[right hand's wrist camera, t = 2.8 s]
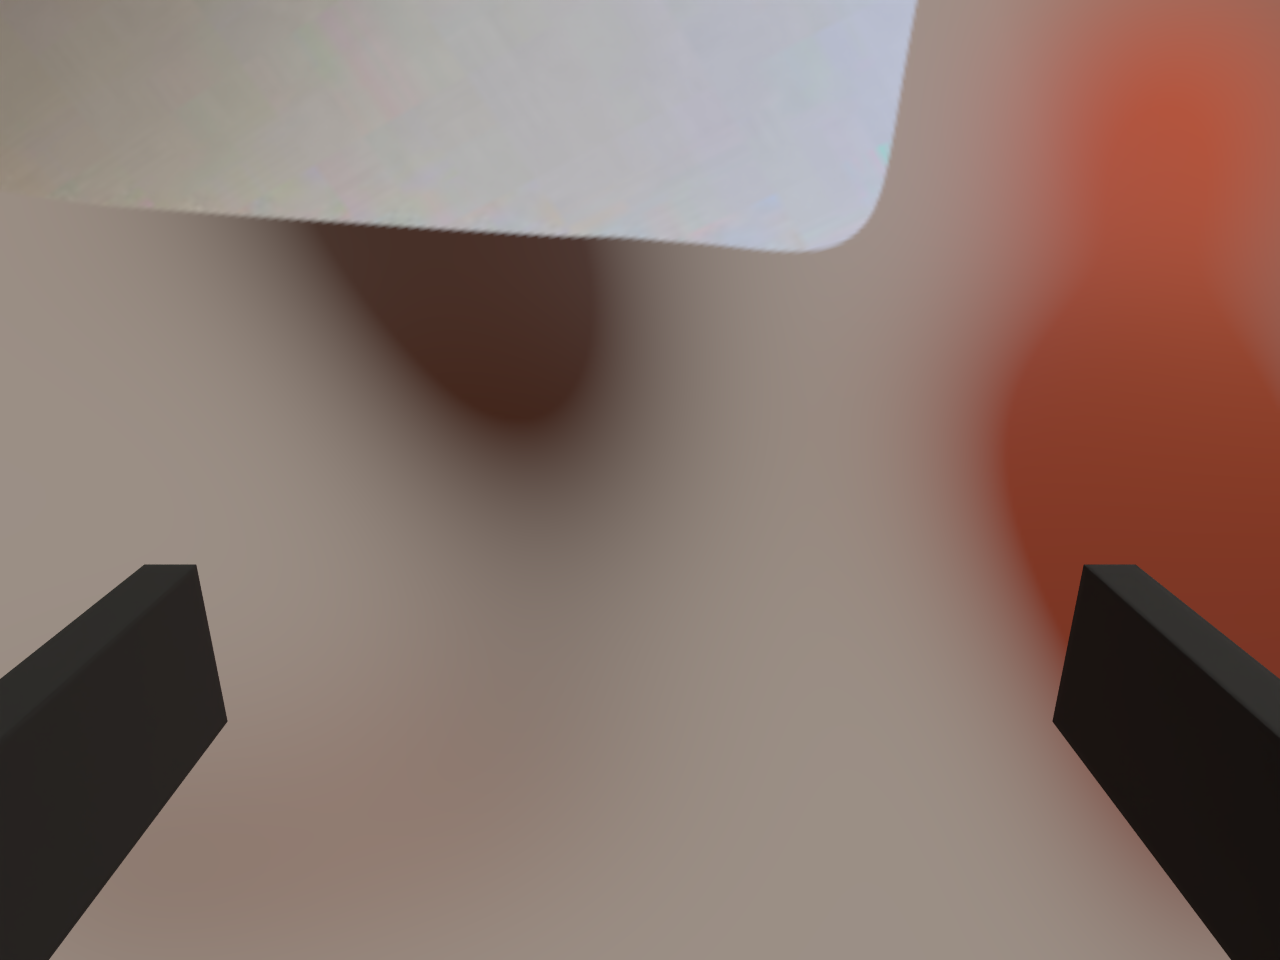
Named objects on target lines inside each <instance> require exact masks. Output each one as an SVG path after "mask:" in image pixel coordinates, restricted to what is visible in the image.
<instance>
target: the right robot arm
mask: <svg viewBox="0 0 1280 960" xmlns="http://www.w3.org/2000/svg"><path fill="white" fill-rule="evenodd" d="M226 723H227V717H226V712H225V707H224V702H223V696H222V692H221V687H220V681H219V676H218V671H217V666H216V661H215V656H214V651H213V646H212V641H211V636H210V631H209V626H208V621H207V616H206V611H205V606H204V601H203V596H202V591H201V586H200V581H199V576H198V571H197V566H196V565H143V566H142V567H141V568H140V569H138V570H137V571H136V572H135V573H133V574H132V575H131V576H129V577H128V578H127V579H126V580H125V581H123V582H122V583H121V584H119V585H118V586H117V587H116V588H114V589H113V590H112V591H111V592H109V593H108V594H107V595H106V596H104V597H103V598H102V599H101V600H99V601H98V602H97V603H95V604H94V605H93V606H92V607H90V608H89V609H88V610H87V611H85V612H84V613H83V614H82V615H80V616H79V617H78V618H77V619H75V620H74V621H73V622H72V623H70V624H69V625H68V626H67V627H65V628H64V629H63V630H62V631H60V632H59V633H58V634H56V635H55V636H54V637H53V638H51V639H50V640H49V641H48V642H46V643H45V644H44V645H43V646H41V647H40V648H39V649H38V650H36V651H35V652H34V653H32V654H31V655H30V656H29V657H27V658H26V659H25V660H24V661H22V662H21V663H20V664H19V665H17V666H16V667H15V668H14V669H12V670H11V671H10V672H9V673H7V674H6V675H5V676H4V677H2V678H1V679H0V960H49V959H50V957H51V956H52V955H53V953H54V952H55V951H56V949H57V948H58V947H59V945H60V944H61V943H62V941H63V940H64V939H65V937H66V936H67V935H68V933H69V932H70V931H71V929H72V928H73V927H74V925H75V924H76V923H77V921H78V920H79V919H80V917H81V916H82V915H83V913H84V912H85V911H86V909H87V908H88V907H89V905H90V904H91V903H92V901H93V900H94V899H95V897H96V896H97V895H98V893H99V892H100V891H101V889H102V888H103V887H104V885H105V884H106V883H107V881H108V880H109V879H110V877H111V876H112V875H113V873H114V872H115V871H116V869H117V868H118V867H119V865H120V864H121V863H122V861H123V860H124V859H125V857H126V856H127V855H128V853H129V852H130V851H131V849H132V848H133V847H134V845H135V844H136V843H137V841H138V840H139V839H140V837H141V836H142V835H143V833H144V832H145V831H146V829H147V828H148V827H149V825H150V824H151V823H152V821H153V820H154V819H155V817H156V816H157V815H158V813H159V812H160V811H161V809H162V808H163V807H164V805H165V804H166V803H167V801H168V800H169V799H170V797H171V796H172V795H173V793H174V792H175V791H176V789H177V788H178V787H179V785H180V784H181V783H182V781H183V780H184V779H185V777H186V776H187V775H188V773H189V772H190V771H191V769H192V768H193V767H194V765H195V764H196V763H197V761H198V760H199V759H200V757H201V756H202V755H203V753H204V752H205V751H206V749H207V748H208V747H209V745H210V744H211V743H212V741H213V740H214V739H215V737H216V736H217V735H218V733H219V732H220V731H221V729H222V728H223V727H224V725H225V724H226ZM1053 723H1054V724H1055V725H1056V727H1057V728H1058V729H1059V731H1060V732H1061V733H1062V735H1063V736H1064V737H1065V739H1066V740H1067V741H1068V743H1069V744H1070V745H1071V747H1072V748H1073V749H1074V751H1075V752H1076V753H1077V755H1078V756H1079V757H1080V759H1081V760H1082V761H1083V763H1084V764H1085V765H1086V767H1087V768H1088V769H1089V771H1090V772H1091V773H1092V775H1093V776H1094V777H1095V779H1096V780H1097V781H1098V783H1099V784H1100V785H1101V787H1102V788H1103V789H1104V791H1105V792H1106V793H1107V795H1108V796H1109V797H1110V799H1111V800H1112V801H1113V803H1114V804H1115V805H1116V807H1117V808H1118V809H1119V811H1120V812H1121V813H1122V815H1123V816H1124V817H1125V819H1126V820H1127V821H1128V823H1129V824H1130V825H1131V827H1132V828H1133V829H1134V831H1135V832H1136V833H1137V835H1138V836H1139V837H1140V839H1141V840H1142V841H1143V843H1144V844H1145V845H1146V847H1147V848H1148V849H1149V851H1150V852H1151V853H1152V855H1153V856H1154V857H1155V859H1156V860H1157V861H1158V863H1159V864H1160V865H1161V867H1162V868H1163V869H1164V871H1165V872H1166V873H1167V875H1168V876H1169V877H1170V879H1171V880H1172V881H1173V883H1174V884H1175V885H1176V887H1177V888H1178V889H1179V891H1180V892H1181V893H1182V895H1183V896H1184V897H1185V899H1186V900H1187V901H1188V903H1189V904H1190V905H1191V907H1192V908H1193V909H1194V911H1195V912H1196V913H1197V915H1198V916H1199V917H1200V919H1201V920H1202V921H1203V923H1204V924H1205V925H1206V927H1207V928H1208V929H1209V931H1210V932H1211V933H1212V935H1213V936H1214V937H1215V939H1216V940H1217V941H1218V943H1219V944H1220V945H1221V947H1222V948H1223V949H1224V951H1225V952H1226V953H1227V955H1228V956H1229V957H1230V959H1231V960H1280V679H1279V678H1278V677H1276V676H1275V675H1274V674H1273V673H1271V672H1270V671H1269V670H1268V669H1266V668H1265V667H1264V666H1263V665H1261V664H1260V663H1259V662H1258V661H1256V660H1255V659H1254V658H1253V657H1251V656H1250V655H1249V654H1248V653H1246V652H1245V651H1244V650H1242V649H1241V648H1240V647H1239V646H1237V645H1236V644H1235V643H1234V642H1232V641H1231V640H1230V639H1229V638H1227V637H1226V636H1225V635H1224V634H1222V633H1221V632H1220V631H1218V630H1217V629H1216V628H1215V627H1213V626H1212V625H1211V624H1210V623H1208V622H1207V621H1206V620H1205V619H1203V618H1202V617H1201V616H1200V615H1198V614H1197V613H1196V612H1195V611H1193V610H1192V609H1191V608H1190V607H1188V606H1187V605H1186V604H1185V603H1183V602H1182V601H1181V600H1179V599H1178V598H1177V597H1176V596H1174V595H1173V594H1172V593H1171V592H1169V591H1168V590H1167V589H1166V588H1164V587H1163V586H1162V585H1160V584H1159V583H1158V582H1157V581H1156V580H1154V579H1153V578H1152V577H1151V576H1149V575H1148V574H1147V573H1145V572H1144V571H1143V570H1142V569H1140V568H1139V567H1138V566H1137V565H1084V566H1083V571H1082V576H1081V581H1080V586H1079V591H1078V596H1077V601H1076V606H1075V611H1074V616H1073V621H1072V626H1071V631H1070V636H1069V641H1068V646H1067V651H1066V656H1065V661H1064V666H1063V672H1062V676H1061V681H1060V686H1059V691H1058V696H1057V702H1056V707H1055V712H1054V717H1053Z"/></svg>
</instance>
